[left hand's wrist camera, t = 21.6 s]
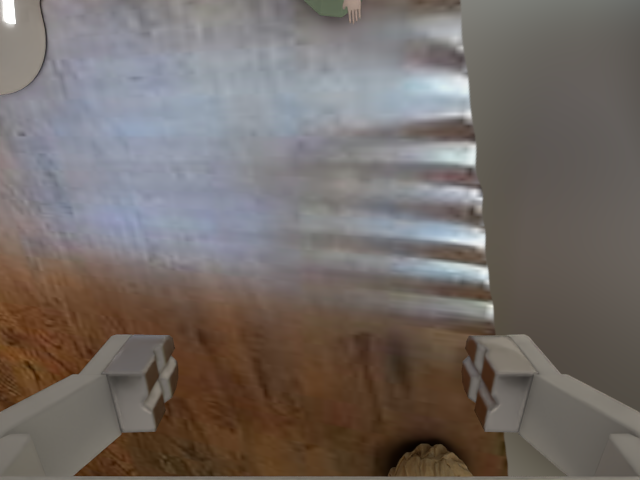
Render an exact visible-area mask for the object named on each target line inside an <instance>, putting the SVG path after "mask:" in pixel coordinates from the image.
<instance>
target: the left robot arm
mask: <svg viewBox="0 0 640 480" xmlns="http://www.w3.org/2000/svg"><path fill="white" fill-rule="evenodd" d="M45 49H46V35H45V28H44V23H43V18H42V14H41V9H40V0H0V95H4V94H10V93H14V92H16V91H19V90H21V89H23V88H24V87H26V86H27V85H28V84H30V83H31V82H32V81H33V79H34V78H35V77H36V75H37V74H38V72H39V70H40V68H41V66H42V63H43V60H44V56H45ZM174 349H175V347H174V342H173V338H172V337H171V336H169V335H114V336H111V337H110V339H109V340H108V341H107V342H106V343H105V344H104V346H103V347H102V348H101V349H100V350H99V351H98V352H97V354H96V355H95V356H94V357H93V358H92V359H91V361H90V362H89V363H88V364H87V365H86V366H85V368H84V369H83V370H82V371H81V372H80V373H79V374H73V375H71V376H69V377H67V378H65V379H63V380H61V381H59V382H57V383H55V384H53V385H51V386H50V387H48V388H46V389H44V390H42V391H40V392H38V393H36V394H34V395H32V396H30V397H28V398H26V399H25V400H23V401H21V402H19V403H17V404H15V405H13V406H11V407H9V408H7V409H5V410H3V411H2V412H0V480H640V412H638V411H636V410H634V409H633V408H631V407H629V406H627V405H625V404H623V403H621V402H619V401H617V400H615V399H613V398H611V397H610V396H608V395H606V394H604V393H602V392H600V391H598V390H596V389H594V388H592V387H590V386H588V385H587V384H585V383H583V382H581V381H579V380H577V379H575V378H573V377H571V376H569V375H567V374H560V372H559V371H558V370H557V369H556V368H555V366H554V365H553V364H552V363H551V362H550V361H549V360H548V358H547V357H546V356H545V355H544V354H543V353H542V351H541V350H540V349H539V348H538V347H537V346H536V344H535V343H534V342H533V341H532V340H531V339H530V337H528V336H526V335H524V334H523V335H506V336H469V337H468V339H467V341H466V347H465V349H466V351H467V353H468V354H469V356H468V357H467V358H466V359H465V360H464V361H463V365H462V382H463V386H464V390H465V392H466V394H467V396H468V398H470V399H471V400H472V401H474V402H475V403H476V405H475V410H474V411H475V413H476V415H477V417H478V419H479V421H480V423H481V425H482V427H483V429H484V431H486V432H519V435H520V436H521V437H523V438H524V439H525V440H526V441H527V442H528V443H530V444H531V445H532V446H533V447H534V448H535V449H537V450H538V451H539V452H540V453H541V454H542V455H544V456H545V457H546V458H547V459H548V460H549V461H550V462H552V463H553V464H554V465H555V466H556V467H557V468H559V469H560V470H561V471H562V472H563V473H564V474H566V475H567V476H568V477H353V476H216V477H102V476H73V475H75V474H76V473H77V472H78V471H79V470H80V469H82V468H83V467H84V466H85V465H86V464H87V463H89V462H90V461H91V460H92V459H93V458H94V457H96V456H97V455H98V454H99V453H100V452H101V451H102V450H104V449H105V448H106V447H107V446H108V445H109V444H111V443H112V442H113V441H114V440H115V439H116V438H118V437H119V436H120V435H121V432H153V431H156V429H157V427H158V425H159V423H160V421H161V419H162V417H163V415H164V413H165V411H166V410H165V405H164V403H165V402H166V401H168V400H169V399H170V398H172V396H173V394H174V392H175V390H176V386H177V381H178V364H177V361H176V360H175V359H174V358H173V357H172V356H171V354H172V353H173V351H174Z"/></svg>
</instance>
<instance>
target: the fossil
mask: <svg viewBox="0 0 640 480" xmlns="http://www.w3.org/2000/svg"><path fill="white" fill-rule="evenodd" d="M388 477H473V475H472V474H471V473H470V472H469V470H468V468H467V466H466V465H465V464H464V462H463V461H462V460H460V459H459V458H458V457H457V456H456V455H455V454H454V453H452V452H449V451H447V449H446V448H445V447H444V446H443V445H442V444H436V445H434V446H430V445H429V444H420V445H418V446H417V447H416V448H415V449H414V451H412V452H406V453H405V454H404V455H403V456H402V457H401V459H400V460H399V462H398V464H397V466H396V467H392V468H391V469H390V471H389V474H388Z"/></svg>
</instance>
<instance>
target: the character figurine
mask: <svg viewBox="0 0 640 480" xmlns="http://www.w3.org/2000/svg"><path fill="white" fill-rule="evenodd" d="M304 1H305V2H306V3H307V4H308V5H309V6H310V7H311V8H313V9H314V10H315V11H316V12H317V13H318V14H319V15H322V16H333V17H343V16H344V15H346V14H347V13H348V15H349V22H350V23H351V13H352V22H353V24H354V10H355V19H356V22H357V9H358V15H359V18H360V17H361V13H360V11H361V1H362V0H304Z"/></svg>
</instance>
